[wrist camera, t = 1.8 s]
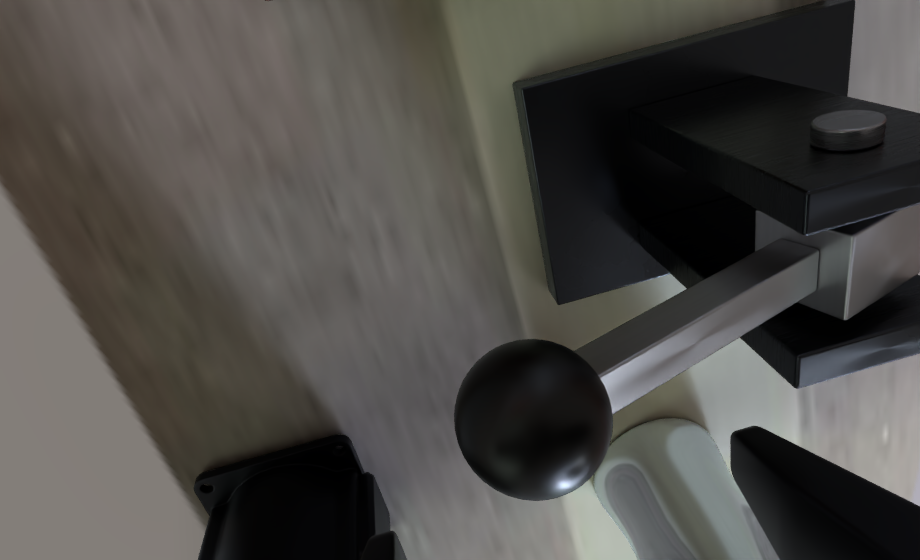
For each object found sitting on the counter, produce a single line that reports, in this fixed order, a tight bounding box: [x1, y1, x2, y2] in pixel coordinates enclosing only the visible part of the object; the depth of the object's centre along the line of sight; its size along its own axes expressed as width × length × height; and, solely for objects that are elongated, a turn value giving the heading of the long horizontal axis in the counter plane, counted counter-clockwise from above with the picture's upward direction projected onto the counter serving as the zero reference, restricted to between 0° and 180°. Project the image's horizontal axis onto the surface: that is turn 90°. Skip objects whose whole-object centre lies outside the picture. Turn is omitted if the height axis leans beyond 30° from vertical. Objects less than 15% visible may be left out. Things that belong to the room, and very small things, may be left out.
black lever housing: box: [513, 0, 920, 389], centre depth 17 cm, size 11×8×10 cm
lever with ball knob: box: [454, 204, 920, 501], centre depth 13 cm, size 12×3×3 cm, turn 103°
